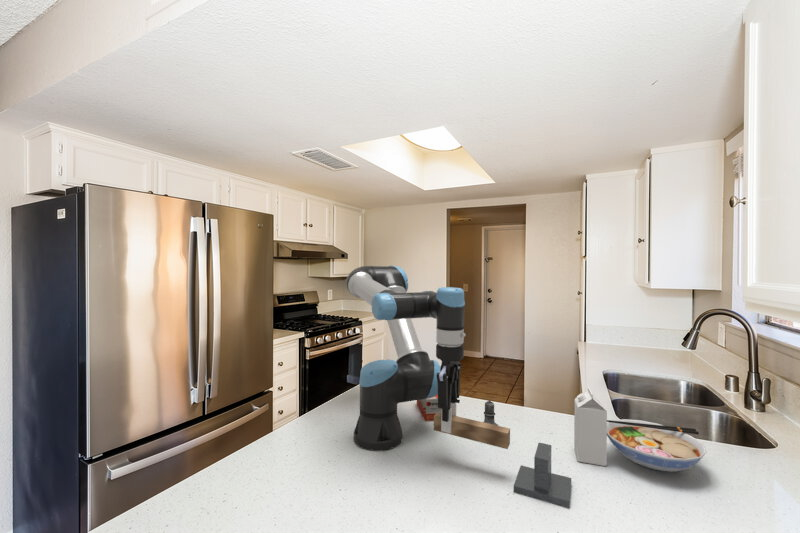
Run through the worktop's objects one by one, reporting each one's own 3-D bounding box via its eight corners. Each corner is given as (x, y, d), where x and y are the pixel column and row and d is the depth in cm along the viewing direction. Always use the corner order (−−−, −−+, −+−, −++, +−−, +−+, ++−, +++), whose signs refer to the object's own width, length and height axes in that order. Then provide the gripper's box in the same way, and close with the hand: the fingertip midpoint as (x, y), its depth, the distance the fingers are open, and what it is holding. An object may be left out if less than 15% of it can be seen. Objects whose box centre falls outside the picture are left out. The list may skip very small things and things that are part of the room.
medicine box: (416, 405, 139) (416, 384, 139) (436, 404, 140) (436, 383, 140) (424, 422, 124) (424, 399, 124) (447, 420, 125) (447, 397, 125)
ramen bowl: (608, 477, 92) (608, 445, 92) (593, 437, 113) (593, 411, 113) (731, 499, 83) (731, 464, 83) (689, 451, 104) (690, 423, 104)
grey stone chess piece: (499, 442, 109) (499, 403, 109) (479, 440, 111) (480, 401, 111) (498, 433, 115) (498, 396, 115) (479, 431, 116) (479, 394, 116)
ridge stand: (513, 491, 85) (513, 454, 85) (520, 470, 94) (520, 436, 94) (569, 508, 80) (569, 467, 80) (571, 484, 88) (571, 447, 88)
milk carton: (601, 454, 103) (601, 388, 103) (606, 467, 96) (607, 396, 96) (574, 449, 105) (574, 385, 105) (577, 462, 98) (577, 393, 98)
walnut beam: (433, 430, 99) (433, 415, 99) (437, 425, 102) (437, 411, 101) (507, 449, 89) (507, 433, 89) (509, 443, 92) (510, 428, 92)
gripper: (453, 352, 89) (451, 445, 90) (471, 340, 103) (470, 420, 104) (425, 348, 93) (424, 438, 93) (447, 337, 107) (446, 415, 107)
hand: (448, 428), depth 98 cm, fingers closed on walnut beam, 3 cm apart
